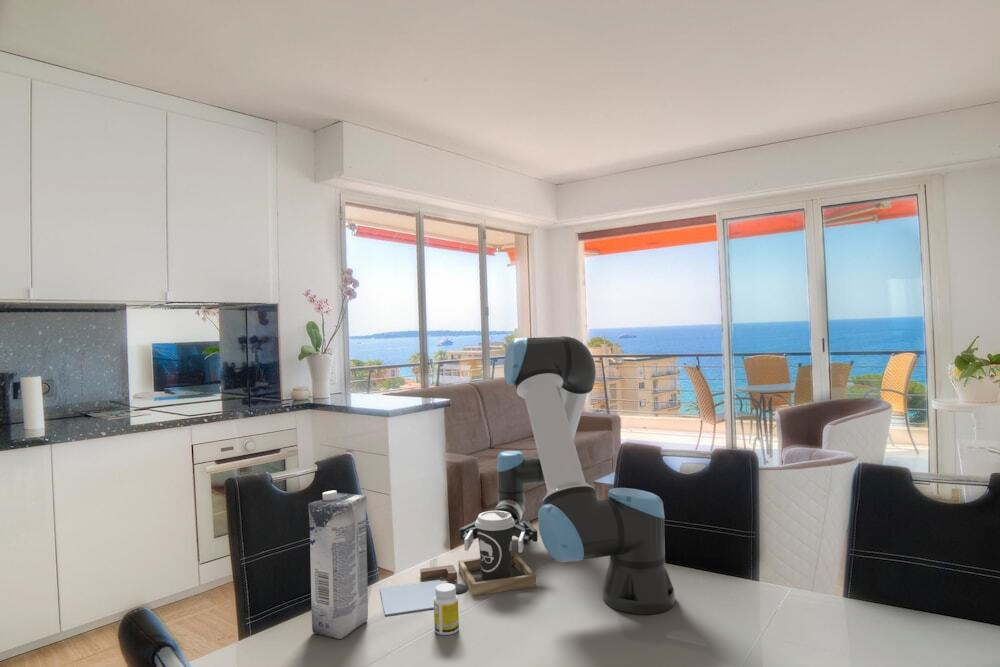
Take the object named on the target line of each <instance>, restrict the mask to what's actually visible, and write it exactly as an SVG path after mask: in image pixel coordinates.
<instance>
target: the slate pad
mask: <svg viewBox="0 0 1000 667" xmlns="http://www.w3.org/2000/svg"><path fill="white" fill-rule="evenodd" d="M440 584H443V583H442V581H441V579H436V580H435V579H434V580H429V581H427V580H426V581H423V582H422V581H421V582H414V583H408V584H407V583H406V584H400V585H399V584H398V585H392V586H391V585H390V586H384V587H379V592H380V596H381V601H382V602H381V603H382V606H383V611H384V616H385V617H387V616H394V615H400V614H401V615H402V614H407V613H413V612H422V611H428V610H434V598H435V596H436V594H435V588H436V586H438V585H440Z"/></svg>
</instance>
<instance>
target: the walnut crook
mask: <svg viewBox="0 0 1000 667" xmlns="http://www.w3.org/2000/svg"><path fill="white" fill-rule="evenodd" d="M419 569H420V573H419V574H420V580H421V581H427V580H435V578H436V579H441V578H440V577H444V578H446V579H447V578H448V579H447V581H448V582H449V581H452V582H456V581H455V580H457V581H458V572H457V569H456V567H455V566H454V564H448V565H441V566H433V567H425V568H419Z"/></svg>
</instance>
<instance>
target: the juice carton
mask: <svg viewBox="0 0 1000 667" xmlns="http://www.w3.org/2000/svg"><path fill="white" fill-rule="evenodd" d="M337 491H338V490H333V489H332V490H328V491H324V492H322V499H320V500H315V501H311V502H310V503H309V502H308V504H307V509H308V517H309V546H310V548H309V551H310V556H309V557H310V590H311V591H310V596H311V601H310V602H311V629H312V630H311V631H312V633H313V634H315V635H321V636H326V637H330V638H333V637H334V638H333V639H337V640H338V639H339V640H341V639H344V638H345V637H346V636H347V635H349V634H351V633H352V632H353V631H354V630H356V629H357V628H359V627H360V626H361V625H363V624H365V622H367V621H368V619H369V618H368V617H369V600H368V599H369V598H368V596H369V595H368V594H369V592H368V590H369V589H368V587H369V586H368V555H367V554H368V549H367V548H368V547H367V544H368V543H367V495H363V494H362V495H361V494H354V493H353V494H352V493H344V492H342V493H341V492H337Z"/></svg>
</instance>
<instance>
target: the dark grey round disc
mask: <svg viewBox="0 0 1000 667" xmlns="http://www.w3.org/2000/svg"><path fill="white" fill-rule="evenodd" d="M454 585H455V587H456V595H460V594H463V593H466V592H467V591H469V588H468V586H467V585H466V584H460V583H458V584H457V583H455V584H454Z"/></svg>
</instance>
